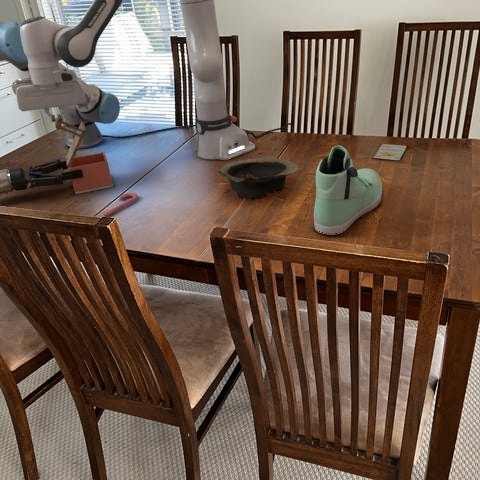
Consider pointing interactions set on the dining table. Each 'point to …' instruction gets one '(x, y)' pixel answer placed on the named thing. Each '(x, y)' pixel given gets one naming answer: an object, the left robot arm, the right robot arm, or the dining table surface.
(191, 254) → the dining table surface
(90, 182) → the chest
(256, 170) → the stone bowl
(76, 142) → the lid
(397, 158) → the baking ingredient package
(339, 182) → the sneaker
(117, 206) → the candy cane
